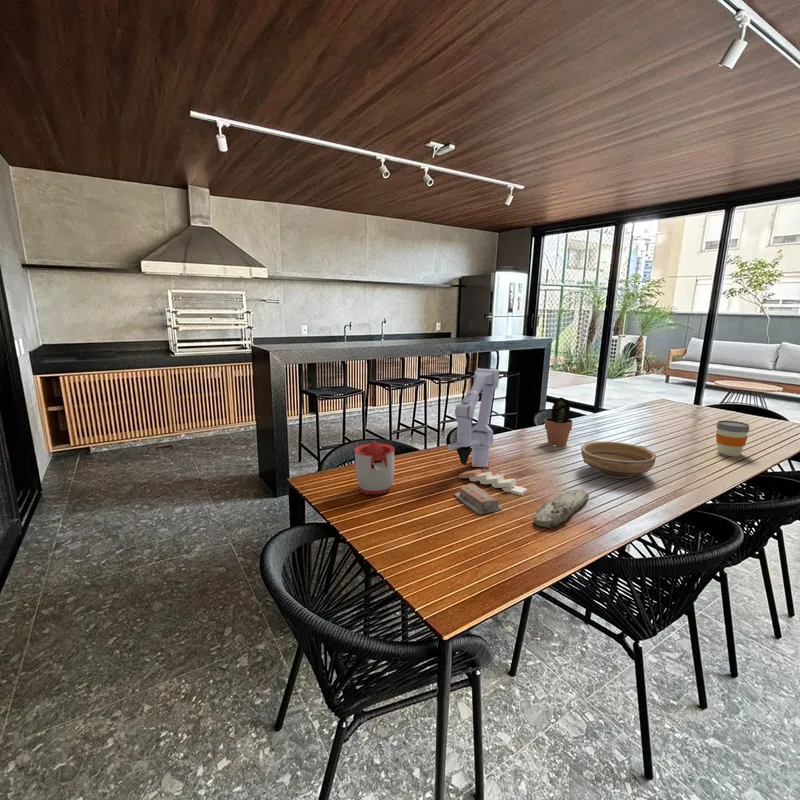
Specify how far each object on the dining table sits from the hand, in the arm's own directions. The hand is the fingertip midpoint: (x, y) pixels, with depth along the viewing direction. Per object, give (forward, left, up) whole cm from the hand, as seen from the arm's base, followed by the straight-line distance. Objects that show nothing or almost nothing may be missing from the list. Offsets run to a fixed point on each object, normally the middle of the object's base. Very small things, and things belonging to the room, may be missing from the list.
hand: (463, 464), depth 180 cm
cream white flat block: (+2, +4, -5) cm, 7 cm away
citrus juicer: (+20, -33, -6) cm, 39 cm away
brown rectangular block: (0, 0, -5) cm, 5 cm away
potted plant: (-56, +47, -6) cm, 73 cm away
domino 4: (+7, +13, -5) cm, 16 cm away
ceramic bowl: (-15, +64, -6) cm, 66 cm away
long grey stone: (+26, +35, -6) cm, 44 cm away
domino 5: (+10, +17, -6) cm, 20 cm away
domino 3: (+5, +8, -5) cm, 11 cm away
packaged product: (+24, +6, -7) cm, 26 cm away
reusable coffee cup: (-52, +126, -6) cm, 136 cm away
